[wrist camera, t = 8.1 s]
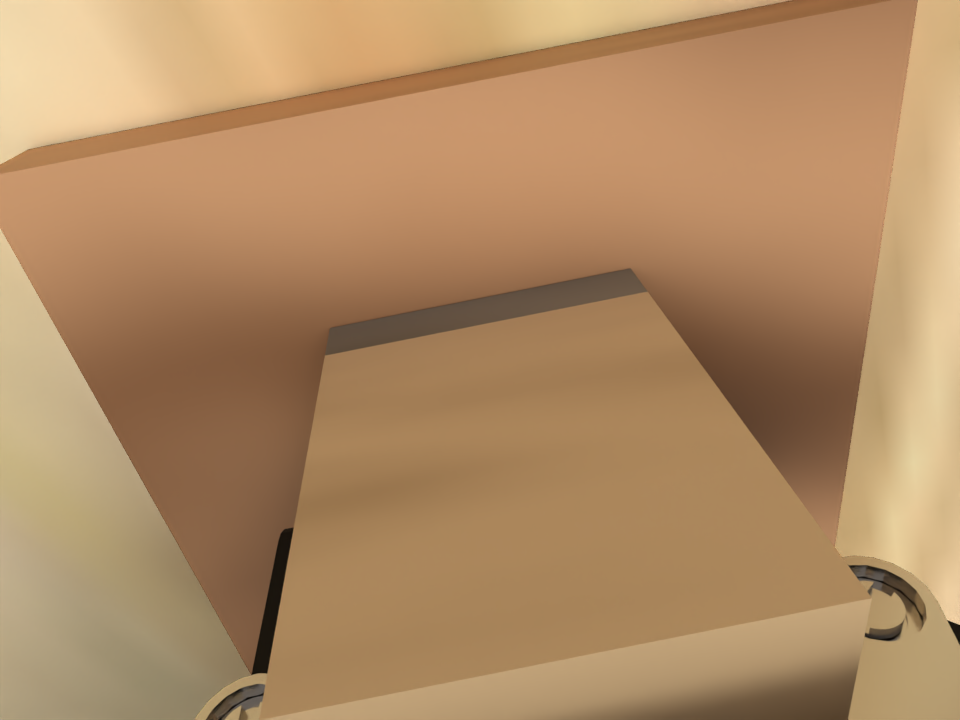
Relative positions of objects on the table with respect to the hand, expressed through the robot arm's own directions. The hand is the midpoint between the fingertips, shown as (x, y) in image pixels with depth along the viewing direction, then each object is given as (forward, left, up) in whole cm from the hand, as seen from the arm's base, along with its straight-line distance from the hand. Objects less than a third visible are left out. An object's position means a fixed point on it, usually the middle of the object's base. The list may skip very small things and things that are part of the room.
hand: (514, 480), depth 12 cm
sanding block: (0, 0, 0) cm, 0 cm away
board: (-5, -3, -2) cm, 6 cm away
